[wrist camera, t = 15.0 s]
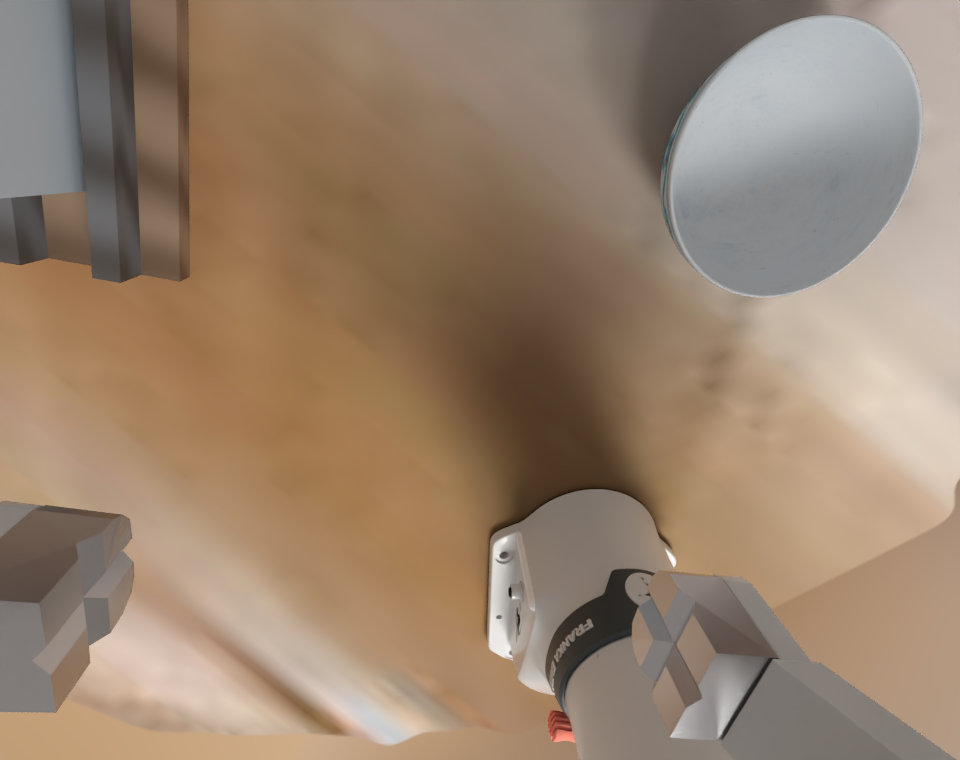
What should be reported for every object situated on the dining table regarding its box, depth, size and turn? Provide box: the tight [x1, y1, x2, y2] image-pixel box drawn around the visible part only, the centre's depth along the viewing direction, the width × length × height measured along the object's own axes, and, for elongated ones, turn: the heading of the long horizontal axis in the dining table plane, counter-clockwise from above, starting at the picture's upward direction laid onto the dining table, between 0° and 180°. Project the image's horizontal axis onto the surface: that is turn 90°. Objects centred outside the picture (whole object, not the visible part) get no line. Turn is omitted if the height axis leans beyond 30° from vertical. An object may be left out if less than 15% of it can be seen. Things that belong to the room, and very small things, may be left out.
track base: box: [0, 0, 189, 283], centre depth 28 cm, size 26×12×4 cm, turn 168°
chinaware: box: [660, 15, 923, 298], centre depth 32 cm, size 15×15×8 cm
